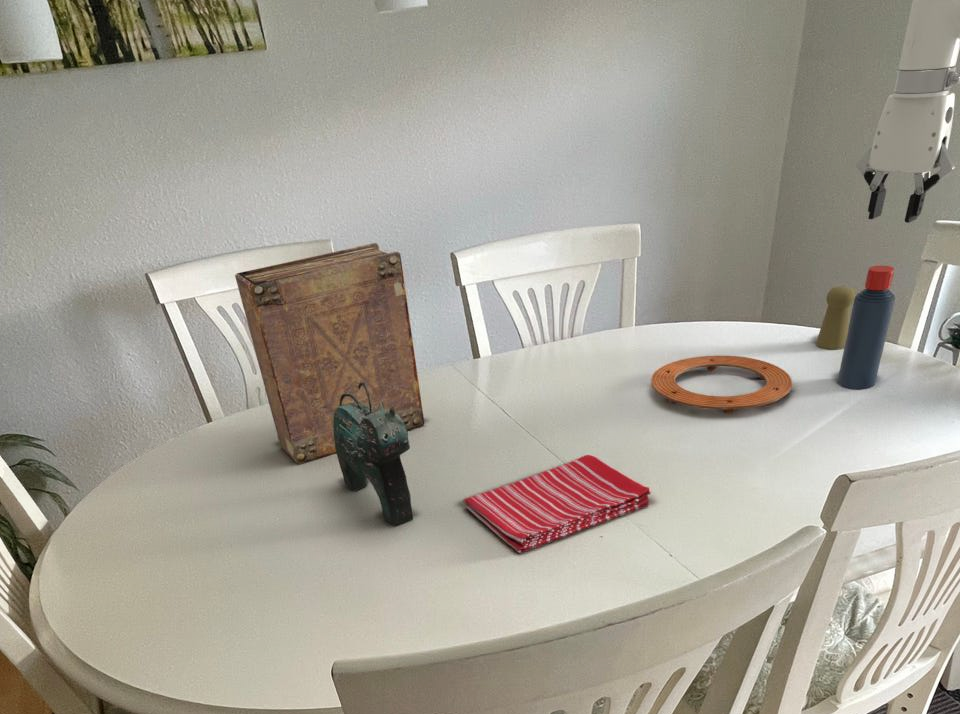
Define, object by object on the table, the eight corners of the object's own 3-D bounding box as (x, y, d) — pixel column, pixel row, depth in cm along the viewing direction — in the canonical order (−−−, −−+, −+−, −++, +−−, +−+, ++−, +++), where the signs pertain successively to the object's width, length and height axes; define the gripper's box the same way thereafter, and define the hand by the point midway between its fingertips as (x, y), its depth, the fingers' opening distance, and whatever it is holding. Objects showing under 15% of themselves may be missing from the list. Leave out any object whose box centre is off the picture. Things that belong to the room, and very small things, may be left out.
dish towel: (655, 504, 116) (656, 488, 114) (520, 556, 108) (519, 540, 106) (588, 463, 128) (588, 448, 126) (462, 507, 120) (460, 492, 118)
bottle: (881, 380, 144) (908, 268, 132) (864, 392, 141) (891, 278, 128) (847, 373, 148) (871, 264, 135) (830, 384, 144) (853, 273, 132)
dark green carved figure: (425, 521, 118) (406, 393, 105) (387, 536, 115) (363, 406, 103) (367, 475, 131) (344, 356, 119) (332, 487, 129) (305, 368, 116)
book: (403, 410, 152) (378, 242, 133) (425, 425, 145) (401, 251, 126) (280, 447, 143) (234, 273, 124) (296, 465, 136) (251, 284, 118)
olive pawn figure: (814, 348, 159) (825, 291, 152) (816, 338, 163) (827, 283, 156) (846, 350, 157) (858, 292, 150) (848, 340, 161) (859, 283, 154)
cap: (893, 285, 133) (898, 267, 131) (883, 291, 131) (887, 272, 130) (871, 282, 136) (875, 264, 134) (860, 288, 134) (864, 269, 132)
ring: (765, 361, 156) (767, 348, 154) (811, 411, 136) (813, 397, 135) (639, 372, 157) (639, 360, 155) (666, 424, 137) (667, 411, 135)
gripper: (995, 79, 112) (956, 219, 124) (877, 81, 123) (852, 210, 134) (974, 85, 109) (936, 229, 120) (854, 87, 119) (830, 219, 130)
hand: (892, 217), depth 127 cm, fingers open, 5 cm apart
